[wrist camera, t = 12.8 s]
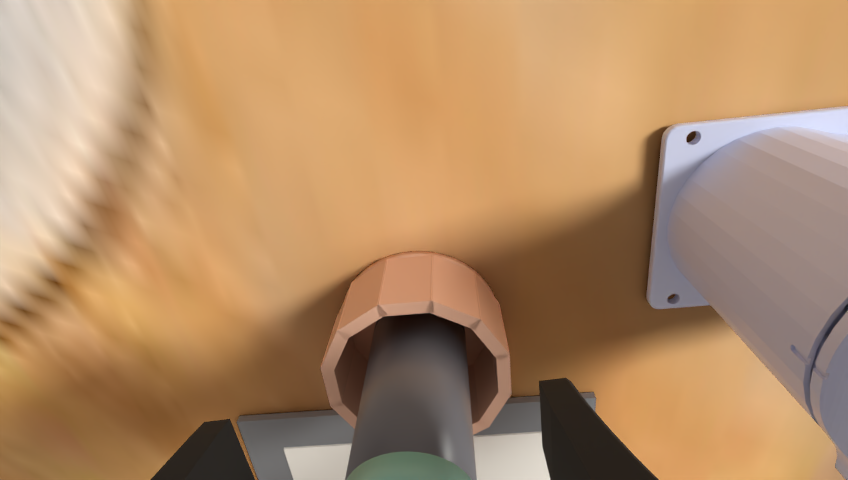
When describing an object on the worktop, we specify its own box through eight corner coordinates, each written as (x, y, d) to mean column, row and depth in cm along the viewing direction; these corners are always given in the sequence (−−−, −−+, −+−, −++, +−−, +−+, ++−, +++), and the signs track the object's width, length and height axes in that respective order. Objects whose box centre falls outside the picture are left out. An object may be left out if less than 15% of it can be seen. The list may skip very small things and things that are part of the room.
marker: (460, 285, 21) (475, 496, 12) (468, 359, 23) (487, 591, 14) (368, 294, 21) (318, 505, 12) (383, 366, 23) (348, 597, 14)
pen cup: (495, 243, 21) (507, 294, 17) (502, 376, 24) (514, 442, 20) (327, 258, 21) (304, 310, 18) (356, 386, 24) (341, 453, 21)
